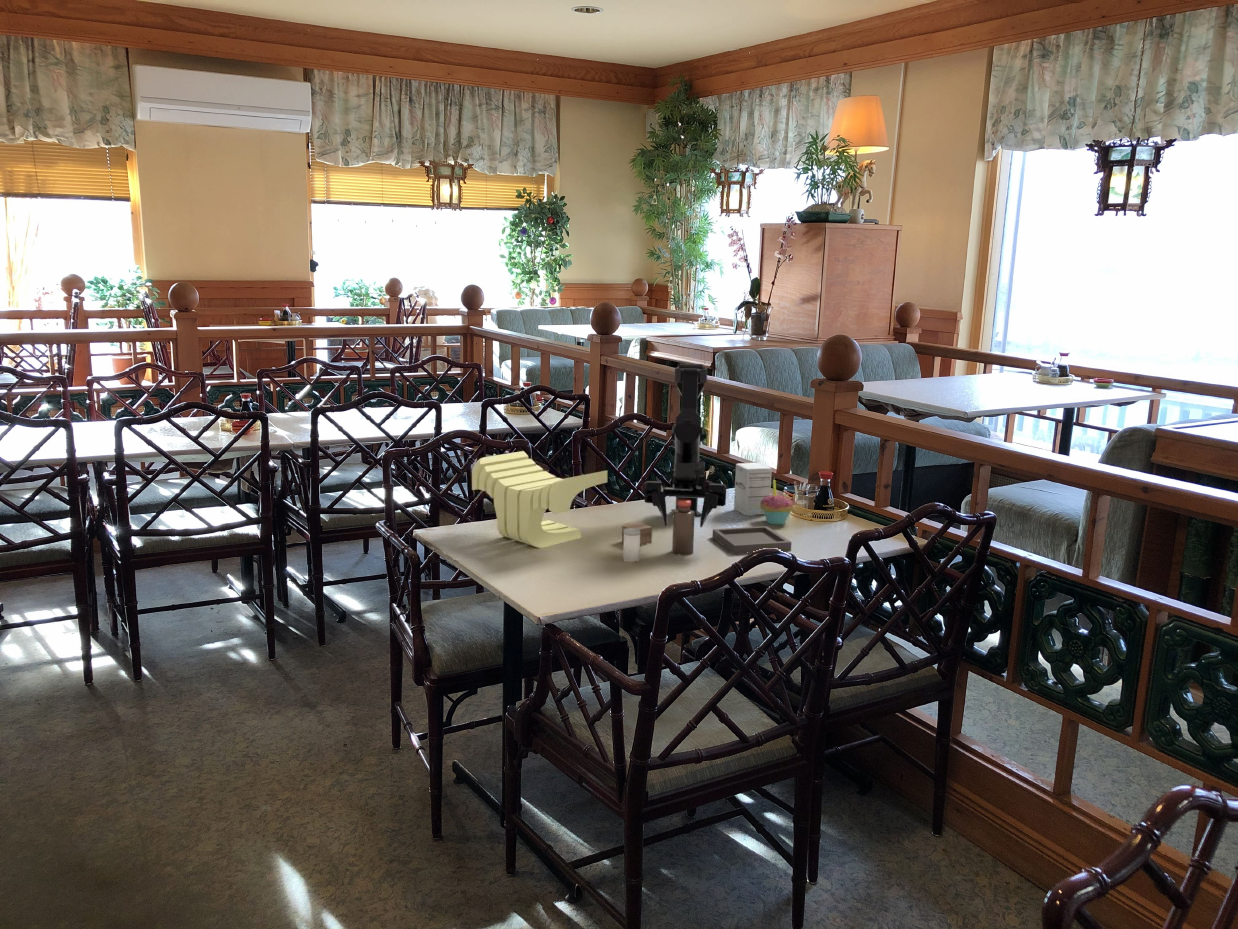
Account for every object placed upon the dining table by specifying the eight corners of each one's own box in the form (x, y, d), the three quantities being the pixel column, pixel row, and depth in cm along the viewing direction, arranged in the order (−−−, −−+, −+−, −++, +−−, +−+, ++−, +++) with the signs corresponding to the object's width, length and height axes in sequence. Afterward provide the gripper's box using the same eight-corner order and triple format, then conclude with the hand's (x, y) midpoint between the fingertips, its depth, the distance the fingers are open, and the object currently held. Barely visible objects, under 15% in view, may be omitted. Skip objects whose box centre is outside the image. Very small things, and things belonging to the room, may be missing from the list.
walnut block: (621, 541, 228) (622, 525, 228) (638, 538, 231) (638, 522, 231) (634, 546, 225) (634, 530, 224) (651, 543, 227) (651, 527, 227)
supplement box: (733, 509, 260) (735, 463, 257) (758, 507, 262) (760, 461, 260) (744, 516, 253) (746, 468, 251) (770, 514, 255) (772, 467, 253)
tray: (712, 537, 233) (712, 529, 232) (766, 533, 237) (766, 526, 236) (734, 554, 220) (734, 545, 219) (791, 550, 223) (791, 542, 223)
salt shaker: (621, 557, 216) (622, 528, 214) (636, 556, 217) (637, 527, 215) (625, 562, 212) (626, 532, 211) (641, 561, 213) (642, 531, 212)
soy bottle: (669, 549, 222) (670, 498, 220) (689, 548, 223) (690, 497, 221) (676, 555, 218) (677, 504, 215) (696, 554, 219) (698, 503, 217)
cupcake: (782, 528, 242) (785, 481, 240) (752, 522, 247) (754, 476, 245) (798, 521, 249) (801, 475, 246) (769, 515, 254) (771, 471, 251)
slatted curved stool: (472, 531, 235) (471, 459, 231) (523, 519, 246) (523, 451, 242) (554, 559, 214) (554, 480, 210) (606, 545, 225) (607, 470, 221)
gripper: (645, 446, 221) (640, 505, 212) (727, 449, 219) (726, 509, 210) (647, 473, 230) (642, 530, 221) (726, 476, 228) (724, 534, 220)
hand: (683, 525), depth 218 cm, fingers open, 8 cm apart
